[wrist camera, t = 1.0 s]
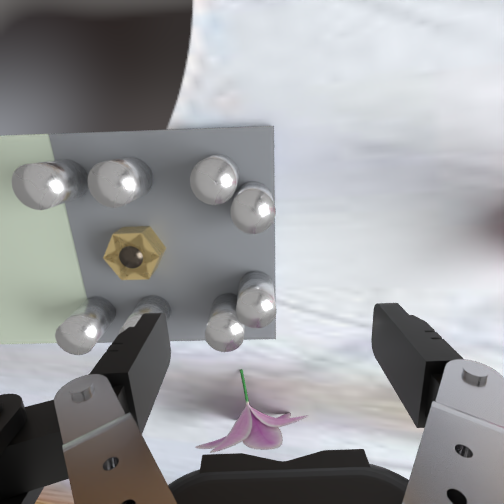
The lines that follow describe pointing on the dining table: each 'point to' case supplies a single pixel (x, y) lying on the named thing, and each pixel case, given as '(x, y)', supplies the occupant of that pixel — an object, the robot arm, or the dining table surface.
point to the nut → (134, 252)
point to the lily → (253, 429)
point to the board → (130, 215)
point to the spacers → (127, 190)
